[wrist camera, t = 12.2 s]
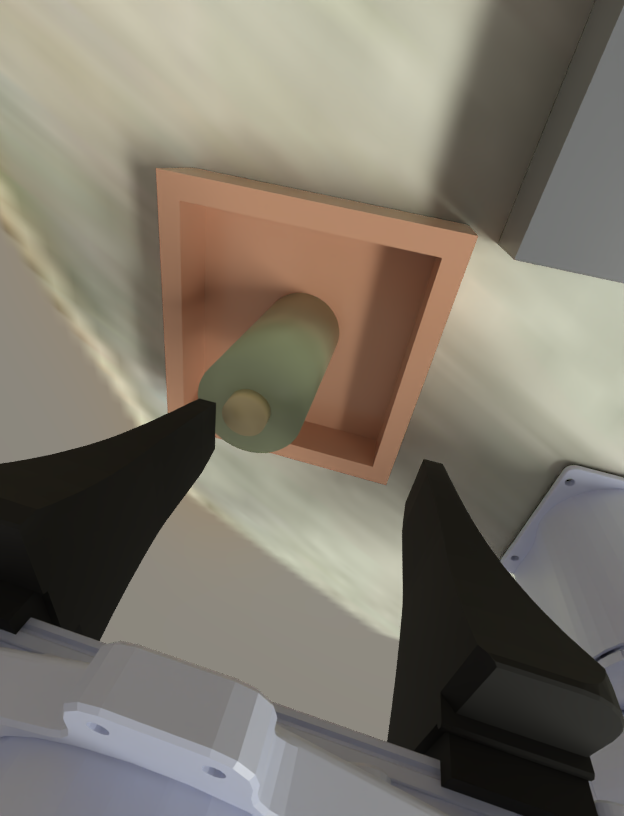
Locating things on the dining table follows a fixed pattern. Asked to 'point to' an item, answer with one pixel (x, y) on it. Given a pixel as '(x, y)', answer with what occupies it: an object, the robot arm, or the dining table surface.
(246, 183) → the tray
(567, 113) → the frame
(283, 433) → the olive cell
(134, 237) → the dining table surface
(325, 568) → the dining table surface
